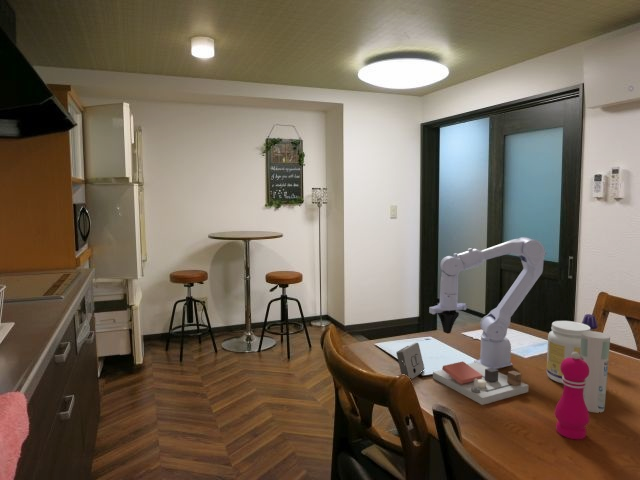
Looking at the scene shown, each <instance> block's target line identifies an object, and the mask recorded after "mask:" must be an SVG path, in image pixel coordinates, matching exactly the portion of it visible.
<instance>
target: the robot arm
mask: <svg viewBox="0 0 640 480" xmlns="http://www.w3.org/2000/svg"><path fill="white" fill-rule="evenodd" d="M509 254H510V255H514V256H518V257H519V258H520V260H521V265H522V268H523V269H522V271H521V272H520V273H519V275H518V276H517V278H516V279H515V280H514V282H513V284H512V285H511V286H510V288H509V289H508V291H507V292H506V293H505V295H504V296H503V297H502V299H501V301H500V302H499V303H498V305H497V306H496V307H495V308H493V309H491V310H490V311H489V313H488V314H487V315H485V316H483V317H482V318H481V320H480V322H479V326H480V329H481V330H482V334H481V336H480V356H479V359H476V360H474V362H473V363H475V362H477V363H479V364H482V365H484V366H486V367H488V368H494V369H497V370H499V369H502V368H506V367H511V366H513V363H512V362H511V355H512V353H511V352H512V344H511V342H510V339H508V338H507V337H506V336H507V333H508V328H509V327H510V325H511V319H512V318H511V317H513V315H514V314H515V312H516V311H517V310H518V308H519V306H520V305H521V303H522V302H523V300H525V298H526V296H527V295H528V293H530V291H531V290H532V288H533V286H534V285H535V283H536V282H537V281H538V279H539V278H540V277H541V275H543V271H544V261H545V260H544V259H545V256H546V254H547V253H546V250H545V248H544V245H543V243H542V242H540V241H539V240H537V239H532V238H530V237H527V236H522V237H519V238H514V239H513V238H512V239H510V240H508V241H505V242H502V243H499V244H497V245H493V246H491V247H488V248H485V249H482V250H481V249H477V248H472V247H470V248H467V251H463V252H459V253H457V252H455V253H453V256H451V255H447V256H444V257H443V258H442V259H441V260H440V263H439V267H440V270H441V274H440V276H441V277H440V285H439V286H440V287H439V303H438V304H437V305H434V306H429V308H428V309H429V310H428V311H429V312H428V314H432V315H437V316H438V317H439V320H440V321H441V327H442V333H445V334H447V335H448V334H449V335H450V334H451V333H452V329H453V326H454V324H455V323H456V320H457V318H458V317H459V315H460V313H459V312H458V311H462V310H463V311H466V310H467V303H465V302H458V300H459V274H460V273H461V271H462V272H464V271H467V270H470V269H474V268H477V267H481V266H482V265H483V263H484V262H485V261H486V260H490V259H493V258H494V259H495V258H498V257H502V256H505V255H509Z"/></svg>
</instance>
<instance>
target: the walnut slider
mask: <svg viewBox="0 0 640 480" xmlns="http://www.w3.org/2000/svg"><path fill="white" fill-rule="evenodd" d="M506 376H507V383H509V384H511V385H513V386H518V385H521V382H522V373H520V372H518V371H515V370H510V371H507V375H506Z"/></svg>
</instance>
